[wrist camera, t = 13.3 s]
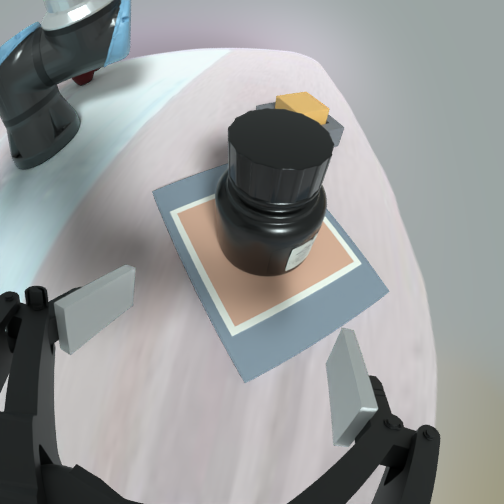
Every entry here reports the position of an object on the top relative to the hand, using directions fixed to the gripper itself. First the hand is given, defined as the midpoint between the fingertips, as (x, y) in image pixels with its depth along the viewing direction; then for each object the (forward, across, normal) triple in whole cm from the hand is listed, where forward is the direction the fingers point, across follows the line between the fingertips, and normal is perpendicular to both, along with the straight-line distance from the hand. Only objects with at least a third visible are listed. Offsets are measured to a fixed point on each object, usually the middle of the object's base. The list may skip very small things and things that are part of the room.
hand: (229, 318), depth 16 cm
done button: (+26, 0, +17) cm, 31 cm away
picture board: (+13, 0, +2) cm, 13 cm away
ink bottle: (+12, 0, +3) cm, 12 cm away
